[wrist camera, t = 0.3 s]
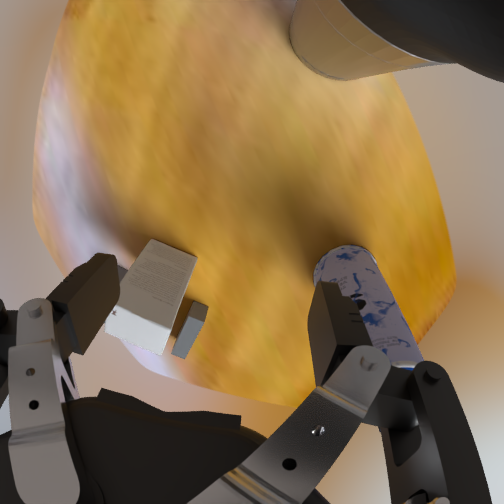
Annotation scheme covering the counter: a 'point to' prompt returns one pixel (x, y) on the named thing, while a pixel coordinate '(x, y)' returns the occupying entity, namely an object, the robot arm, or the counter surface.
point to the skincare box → (151, 296)
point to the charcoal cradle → (184, 324)
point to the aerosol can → (371, 302)
